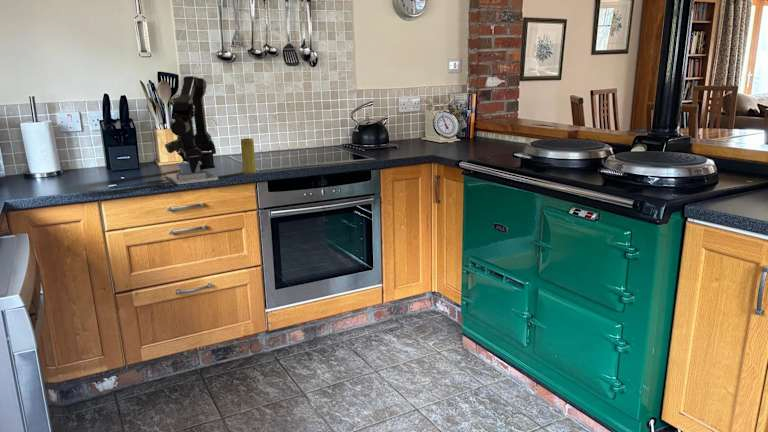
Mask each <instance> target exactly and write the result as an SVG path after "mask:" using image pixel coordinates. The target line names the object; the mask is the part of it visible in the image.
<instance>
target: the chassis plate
mask: <svg viewBox="0 0 768 432" xmlns="http://www.w3.org/2000/svg"><path fill="white" fill-rule="evenodd" d="M165 175H166V176H165V177H166V178H168V179H169V180H170V179H171V180H170V181H172V182H173V181H174V182H173V183H175V184H176V185H187V184H193V183H201V182H202V183H203V182H210V181H218V180H219V177H218V176H217V175H215V174H213V173H211V172H209V171H207V170H205V169H200V173H195V174H187V175H181V174H180V172H175V173H169V174H165Z"/></svg>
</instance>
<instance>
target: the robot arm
mask: <svg viewBox="0 0 768 432" xmlns="http://www.w3.org/2000/svg"><path fill="white" fill-rule="evenodd" d="M182 82H183V83H182V88H181V92H180V94H179V96H178V97H176V98H175V100H174V101H173V104H172V106H171V118H170V119H171V120H175V121H173V122H172V124H171V126H170V131H171V133H172V134H173V135H175V136H176V138H177V139H174V140H172V141H170V142H167V143H166V144H164V148H165V149H166V151H167V153H169V154H173V153H174V152H176V154H177V155H178V156H180V157H181V160H182V162H183V161H186V162H189V165H190V169H191V172H192V173H195V170H196V168H197V165H198V162H199V161H200V162H202V165H200V170H205V169H211V168H212V169H213V168H216V165H215V163H214V162H215V161H214V155H216V154H217V149H216V146H215V143H214V141H213V140H212V139H213V138H212V136H211V135H210V133H209V132H208V131H207V122H206V115H205V114H206V113H205V106H204V97H205V94H206V92H207V91H206V89H207V82H206V80H205V79H204V78H202V77H197V76H195V75H193V76H192V75H191V76H190V75H187V76H184V77H183V81H182ZM193 118H194V122H193ZM193 123H194V124H195V125H194V124H193ZM194 126H195V134H194Z"/></svg>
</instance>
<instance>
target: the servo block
mask: <svg viewBox="0 0 768 432" xmlns="http://www.w3.org/2000/svg"><path fill="white" fill-rule="evenodd" d="M200 165H202V162H200V161H199V162H198V165H197V168H196V170H195V173H200V170H201V168H200ZM176 166H177V167H178V168H179V173H180V174H181V175H187V174H195V173H192V172H191V169H190V165H189V162H186V161H183V160H182V161H181V162H176Z"/></svg>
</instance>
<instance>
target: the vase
mask: <svg viewBox="0 0 768 432" xmlns="http://www.w3.org/2000/svg"><path fill="white" fill-rule="evenodd" d="M254 142H255V141H254V138H241V139H240V148H241V165H242V169H241V170H242V173H243V174H255V173H257V171H258V170H257V165H256V161H257V160H256V153H255V144H254Z"/></svg>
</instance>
